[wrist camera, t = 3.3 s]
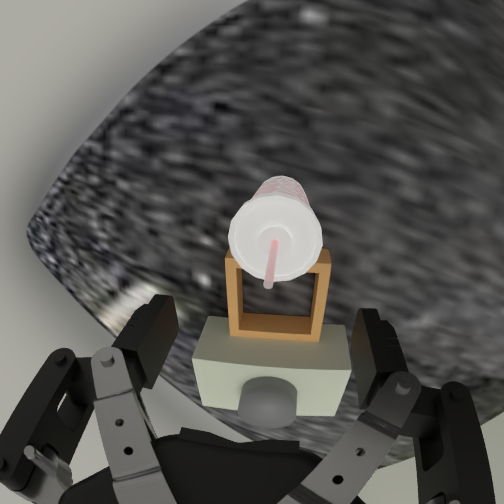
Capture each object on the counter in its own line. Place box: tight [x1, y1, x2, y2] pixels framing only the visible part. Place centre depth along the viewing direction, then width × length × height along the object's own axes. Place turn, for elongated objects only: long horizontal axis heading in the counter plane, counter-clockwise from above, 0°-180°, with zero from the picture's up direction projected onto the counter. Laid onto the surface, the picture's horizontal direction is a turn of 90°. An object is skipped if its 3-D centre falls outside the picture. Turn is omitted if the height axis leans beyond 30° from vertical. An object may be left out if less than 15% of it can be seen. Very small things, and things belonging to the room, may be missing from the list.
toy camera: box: [192, 248, 351, 428], centre depth 29 cm, size 19×16×10 cm
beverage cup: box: [228, 176, 323, 289], centre depth 21 cm, size 6×6×14 cm
